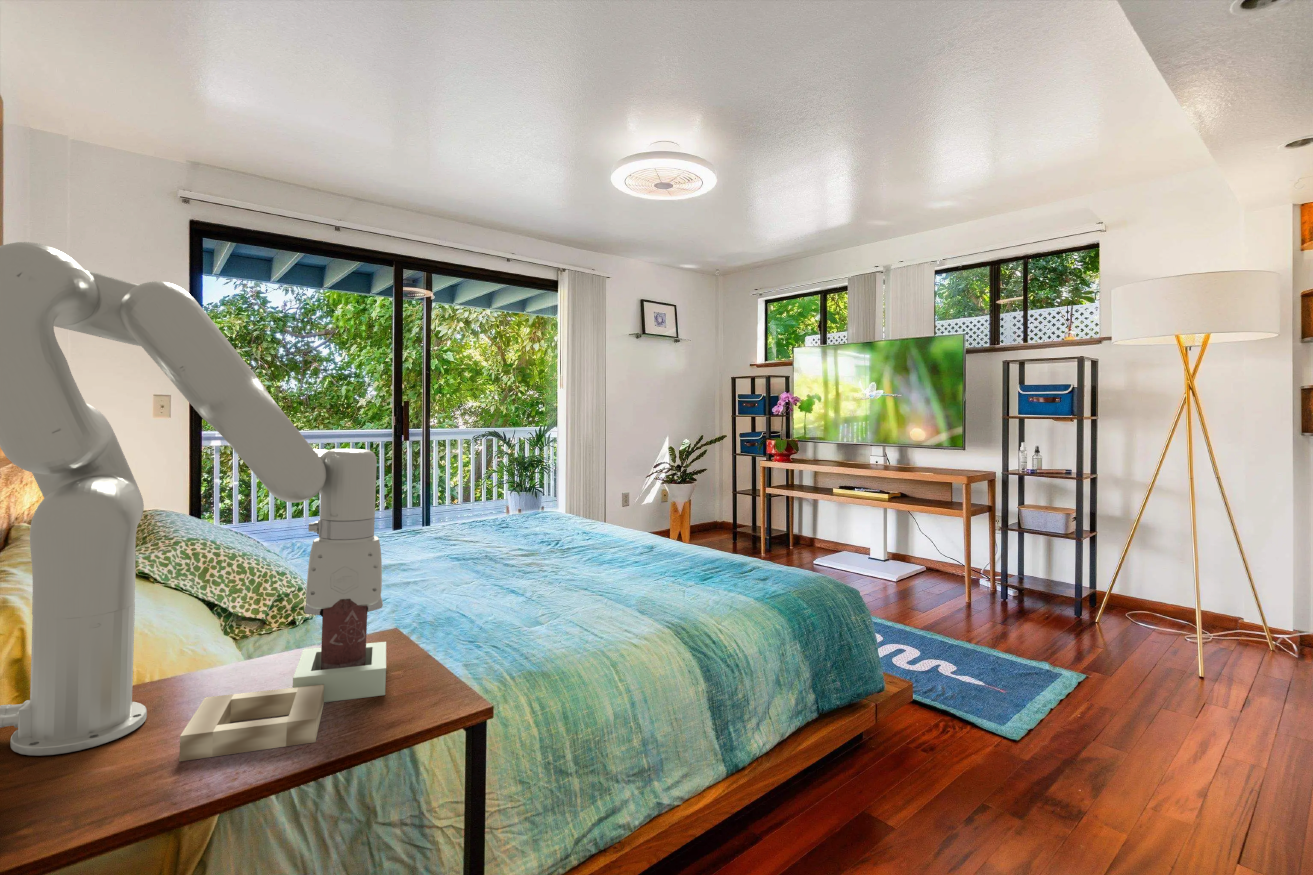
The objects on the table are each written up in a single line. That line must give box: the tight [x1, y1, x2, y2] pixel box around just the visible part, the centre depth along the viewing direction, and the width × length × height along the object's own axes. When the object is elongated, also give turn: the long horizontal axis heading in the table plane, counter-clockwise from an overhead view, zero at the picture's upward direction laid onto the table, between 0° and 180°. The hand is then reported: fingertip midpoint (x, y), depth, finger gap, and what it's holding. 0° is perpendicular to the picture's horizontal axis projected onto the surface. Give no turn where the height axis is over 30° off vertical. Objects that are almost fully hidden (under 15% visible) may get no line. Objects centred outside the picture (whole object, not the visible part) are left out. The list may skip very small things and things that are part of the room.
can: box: [320, 599, 368, 670], centre depth 96 cm, size 6×6×14 cm
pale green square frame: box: [292, 641, 387, 703], centre depth 96 cm, size 12×12×4 cm
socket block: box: [178, 684, 325, 762], centre depth 81 cm, size 14×11×3 cm
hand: (343, 649), depth 96 cm, fingers closed
